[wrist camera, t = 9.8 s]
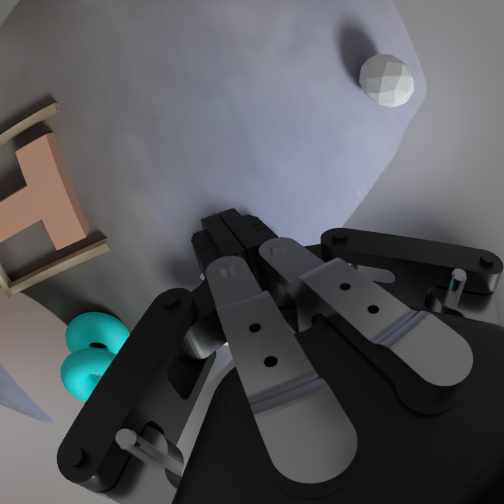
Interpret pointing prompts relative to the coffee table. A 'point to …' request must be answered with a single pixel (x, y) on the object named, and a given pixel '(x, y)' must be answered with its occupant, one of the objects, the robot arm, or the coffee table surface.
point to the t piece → (44, 196)
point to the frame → (65, 262)
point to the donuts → (90, 351)
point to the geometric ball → (386, 80)
